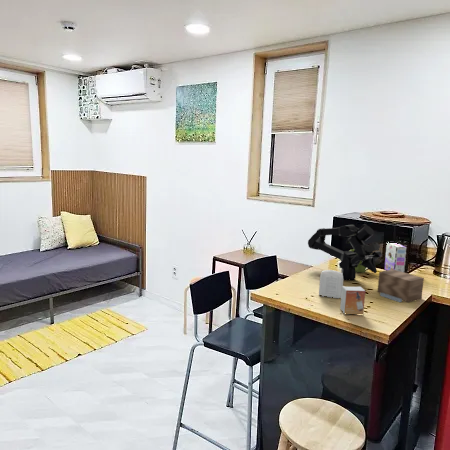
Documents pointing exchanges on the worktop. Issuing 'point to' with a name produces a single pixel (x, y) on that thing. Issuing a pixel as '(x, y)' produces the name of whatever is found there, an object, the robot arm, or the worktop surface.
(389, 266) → the candy box
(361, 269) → the plant pot
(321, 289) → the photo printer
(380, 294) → the bay rails
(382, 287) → the walnut box
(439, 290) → the worktop surface
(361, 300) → the small box
